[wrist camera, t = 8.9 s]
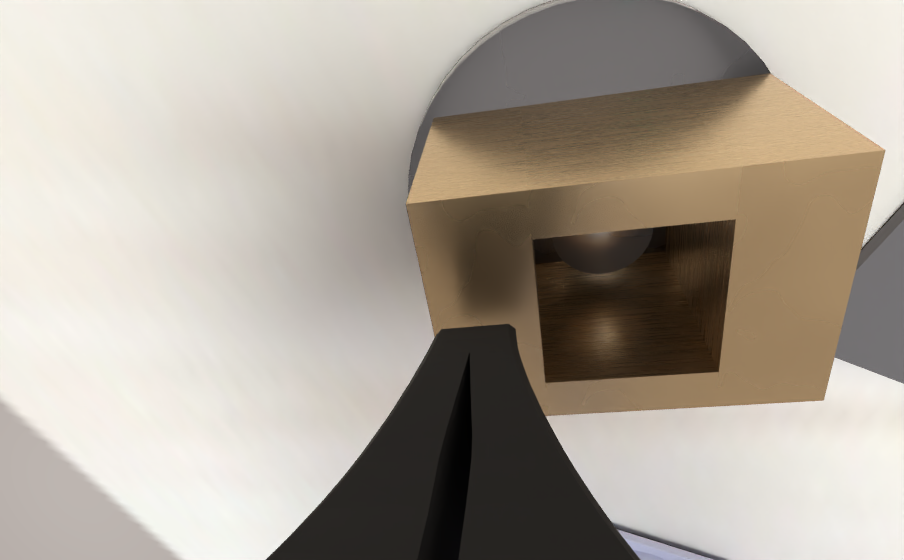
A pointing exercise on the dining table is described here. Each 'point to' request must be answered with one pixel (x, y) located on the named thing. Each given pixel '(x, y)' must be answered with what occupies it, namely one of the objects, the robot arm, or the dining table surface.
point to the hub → (589, 84)
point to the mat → (877, 305)
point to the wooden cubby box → (661, 273)
